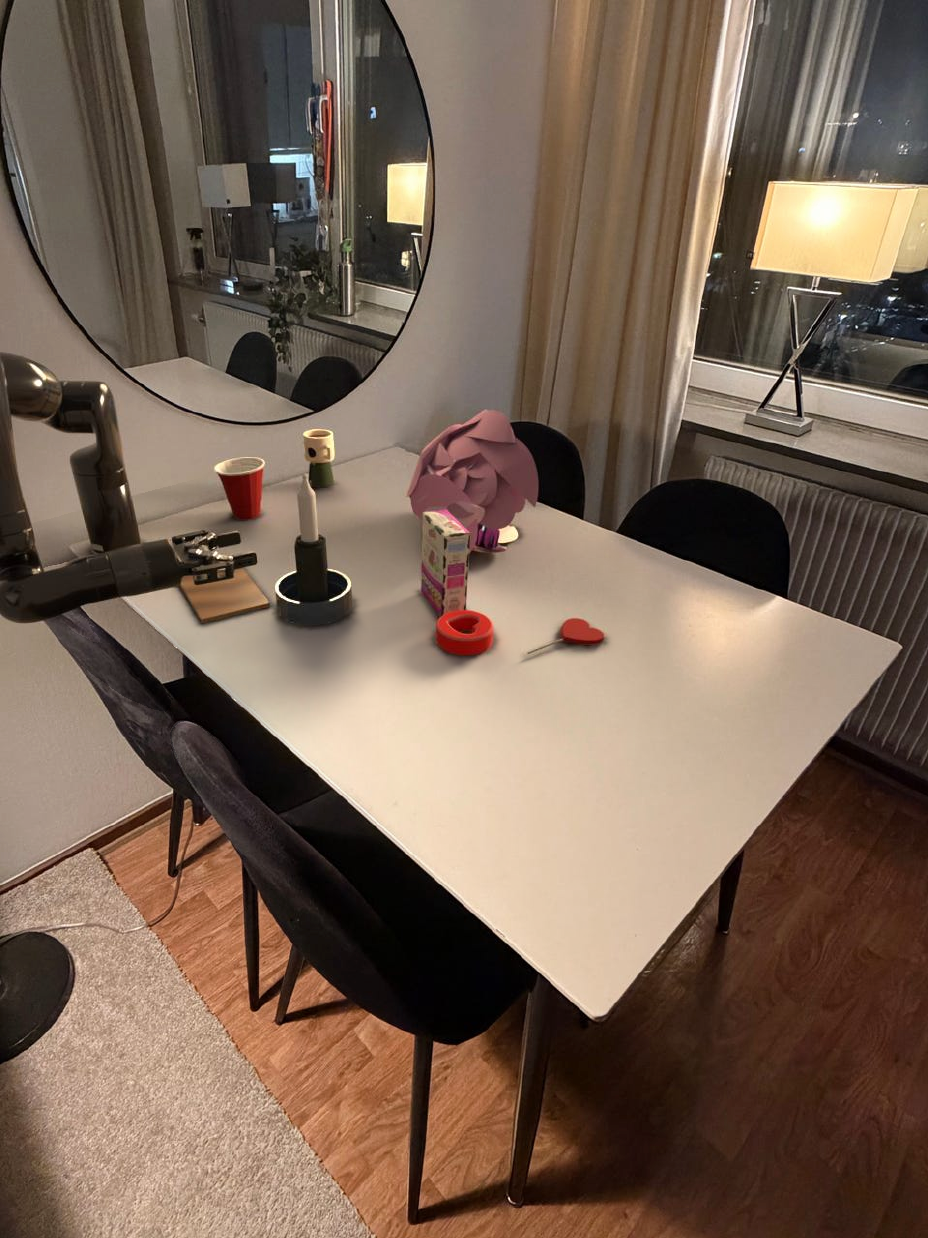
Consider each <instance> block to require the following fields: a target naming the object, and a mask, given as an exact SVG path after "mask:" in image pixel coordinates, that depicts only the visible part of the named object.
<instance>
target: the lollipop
mask: <svg viewBox="0 0 928 1238" xmlns="http://www.w3.org/2000/svg"><path fill="white" fill-rule="evenodd" d="M560 635H561V638H560V639H557V640H554V641H552V642H550V643H547V644H545V645H542V646H540V647H536V648H535V649H532V650H530V651H527V652H526V653H527V655H530V654H532V653H535V652H537V651H540V650H542V649H545V648H547V647H550V646H553V645H555V644H557V643H560V642H566V643H569V644H575V645H582V646H583V645H584V646H593V645H599V644H602V642H604V640H605V633H604V632H603V631H602V630H600V629H599V628H596V627H591V626H590V624H589V622H588V621H586V620H585V619H583V618H579V617H572V618H568V619H566V620H564V621H563V623H562V625H561V627H560Z"/></svg>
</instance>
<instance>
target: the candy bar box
mask: <svg viewBox="0 0 928 1238" xmlns="http://www.w3.org/2000/svg"><path fill="white" fill-rule="evenodd" d="M422 514H423V519H422V520H423V521H421V522H422V526H421V528H422V529H421V530H422V531H421V532H422V533H421V574H420V575H421V576H420V577H421V578H420V581H421V582H420V584H421V585H420V592H421V594H422V595H423V597H425V599H426V600H427V602H428V603H429V604H430V605H431V607H432V608H433V609H434V610H435V611H434V612H436V613H437V615H438V616H439V618H440V617H441V616H443V615H444V614H446V613H448V612H451V611H457V610H467V597H468V596H467V595H468V579H469V578H468V577H469V563H470V553H469V547H470V532H469V531H467V530H466V529H465V528H464V527H463V526H462V525H461V524H460V523H459V522H458V521H457V520H456V519H455V518H454V517H453V516H452V515H451V514H450V513H449V512H448V511H447V510H437V511H430V512H423V513H422Z"/></svg>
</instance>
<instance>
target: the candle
mask: <svg viewBox="0 0 928 1238" xmlns="http://www.w3.org/2000/svg"><path fill="white" fill-rule="evenodd" d="M301 478H302V481H301V483H300V484H301V485H300V487H299V489H298V491H297V493H296V496H297V508H298V519H299V531H300V535H297V536H296V538H295V541H294V544H293V548H294V550H293V551H294V560H295V571H296V573H297V584H298V595H299V602H307V603H313V602H323V601H327V600H330V596H329V581H328V569H329V568H328V557H327V556H328V555H327V553H328V551H327V539H326V537H325V536H323V535H322V534H320V533H319V528H318V526H319V525H318V515H317V500H316V492H315V491H314V489H313V488H312V486H311V484H310V481H309V479H308V474H307V473H303V474H302V475H301Z"/></svg>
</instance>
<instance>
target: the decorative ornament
mask: <svg viewBox="0 0 928 1238" xmlns="http://www.w3.org/2000/svg"><path fill="white" fill-rule="evenodd" d="M435 627H436V628H435V631H436V632H435V642H436V644H437V646H439V647H440V648H441V649H442V650H443V651H446V652H447V653H450V654H452V655H453V654H454V655H458V656H474V655H478V654H482V653H484V652H486V651H487V650H489V649H490V647H492V644H493V637H494V623H493V621H492V620H491V619H490V618H489V617H488V616H487V615H486V614H484V613H481V612H479V611H475V610H470V609H466V610H457V611H451V612H448V613H446V614H444V615H443V616H441V617H440V616H439V618H438V619H437V620H436V626H435ZM462 632H471V633H462Z"/></svg>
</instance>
